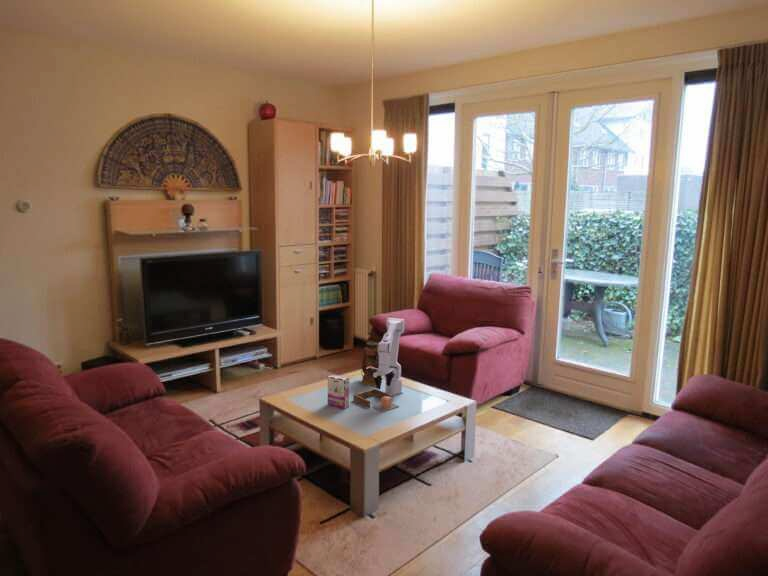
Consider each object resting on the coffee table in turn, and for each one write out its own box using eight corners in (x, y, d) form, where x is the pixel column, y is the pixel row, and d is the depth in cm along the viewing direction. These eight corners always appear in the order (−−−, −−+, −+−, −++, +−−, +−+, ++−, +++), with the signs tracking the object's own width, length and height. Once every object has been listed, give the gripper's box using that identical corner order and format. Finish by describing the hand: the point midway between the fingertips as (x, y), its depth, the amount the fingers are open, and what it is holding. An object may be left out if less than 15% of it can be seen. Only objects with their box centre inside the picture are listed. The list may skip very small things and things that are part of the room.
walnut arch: (374, 394, 314) (374, 388, 314) (390, 400, 305) (390, 395, 304) (353, 400, 304) (353, 394, 303) (368, 407, 294) (368, 401, 294)
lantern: (388, 383, 333) (390, 335, 328) (374, 388, 324) (375, 339, 319) (368, 376, 345) (370, 330, 339) (354, 381, 335) (355, 334, 330)
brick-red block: (385, 404, 298) (385, 395, 297) (391, 406, 296) (391, 397, 295) (380, 406, 295) (381, 397, 294) (386, 408, 293) (386, 399, 292)
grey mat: (389, 402, 302) (389, 401, 302) (399, 406, 297) (399, 406, 296) (373, 407, 294) (373, 406, 294) (382, 412, 289) (383, 411, 288)
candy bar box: (349, 406, 296) (349, 377, 293) (344, 409, 291) (345, 380, 288) (332, 402, 301) (332, 373, 298) (327, 405, 296) (327, 376, 293)
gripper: (388, 358, 302) (387, 382, 305) (369, 364, 292) (368, 388, 294) (397, 361, 297) (396, 385, 300) (378, 367, 287) (377, 391, 290)
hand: (383, 387), depth 297 cm, fingers open, 7 cm apart
